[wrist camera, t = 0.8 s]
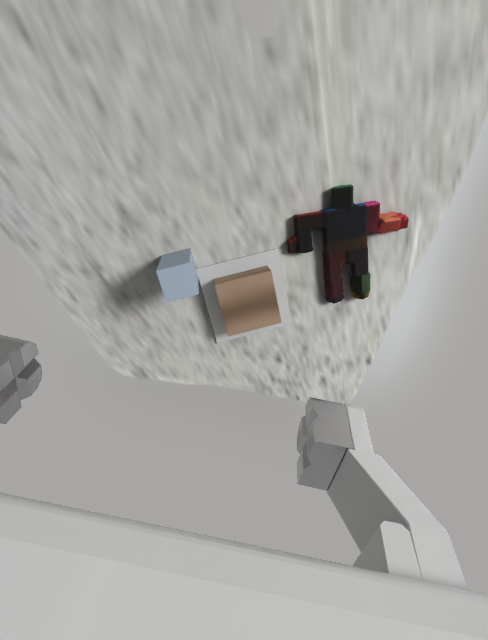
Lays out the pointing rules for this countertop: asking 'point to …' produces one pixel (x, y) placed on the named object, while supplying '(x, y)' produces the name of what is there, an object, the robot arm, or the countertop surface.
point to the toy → (344, 239)
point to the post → (178, 275)
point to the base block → (248, 300)
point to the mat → (237, 266)
